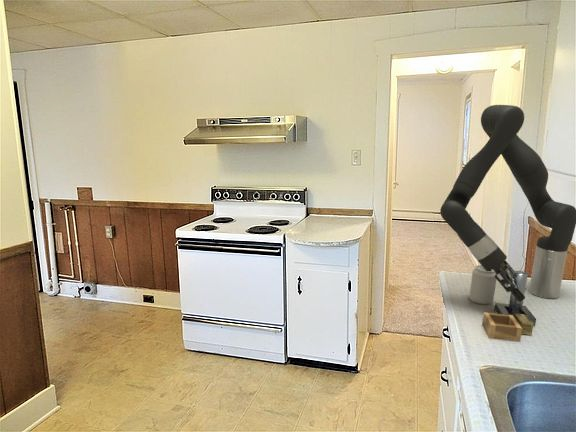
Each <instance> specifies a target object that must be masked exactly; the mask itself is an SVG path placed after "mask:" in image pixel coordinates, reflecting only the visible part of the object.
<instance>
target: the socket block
mask: <svg viewBox="0 0 576 432" xmlns="http://www.w3.org/2000/svg"><path fill="white" fill-rule="evenodd" d="M493 308H494V309H493V311H494V313H495V314H505V315H513V316H514V314H511V313H508V309H509V303H501V302H500V303H499V302H494V307H493ZM521 314H524V315H525V316H526V317H527V319H528V320H529V321H532V322H533V323H534V325H533V327H536V323H537V318H536V317H535V316H534V314H533V313H532V312H531V311H530V309H529V308H528V307H527V305H523V306H522V312H521Z"/></svg>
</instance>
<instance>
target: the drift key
mask: <svg viewBox="0 0 576 432" xmlns="http://www.w3.org/2000/svg"><path fill="white" fill-rule="evenodd" d="M514 318H515V319H516V321H517V322H518V323H519V325H520V326H521V327H522V333H521V335H530V336H532V335H533V329H534V326H533V325H534V323H533V322H532V321H529V320H528V319H527V317H526V316H525V315H524V314H517V313H515V314H514Z"/></svg>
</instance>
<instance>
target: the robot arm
mask: <svg viewBox="0 0 576 432" xmlns="http://www.w3.org/2000/svg"><path fill="white" fill-rule="evenodd" d="M524 122H525V113H524V111H523V109H522V108H521V107H520V106H517V105H512V104H510V105H509V104H493V105H489V106H487V107H486V108H484V110H483V111H482V113H481V116H480V125H481V128H482V130H483V131H484V132H485V134H486V135H487V136H488V138H489V139H488V140H487V142H486V143H485V144H484V146H483V147H482V148H481V149H480V150H479V151H478V152H477V153H476V154H474V156H473V157H472V158H470V159H469V160H468V161H467V162H466V163H465V165H464V166H463V168H462V170H461V171H460V173H459V174H458V177H457V178H456V179H455V182H454V184H453V185H452V189H451V191H449V194H448V195H447V197H446V199H445V200H444V201H443V203H442V204H441V206H440V211H439V212H440V213H439V214H440V216H441V218H442V219H443V220H444V222H446V223H447V225H448V226H449V227H450V228H451V229H452V230H453V231H454V232H455V233H456V235H457V236H458V238H459V239H460V240H461V243H463V244H464V245H465V246H466V248H467V249H468V250H469V252H470V254H471V255H472V256H473V257H474V258H475V259H476V261H477V263H479V264H480V265H482V267H483V268H484V269H485V270H486V271H490V270H494V271H495V273H496V274H495V278H496V279H497V280H496V281H497V282H498V283H499V284H500V286H501V287H503V289H504V290H505V291H506V293H510V294H511V293H512V294H513V295H514V297H515V298H516V299H517V300H518V301H522V300H523V301H525V299H526V296H525V294H524V295H523V294H522V292H521V291H520V290H519V289H518V288H517V286H516V285H515V283H514V272H515V271H516V270H514V268H513V267H512V266H511V264H510V263H508V261H507V259H508V257H507V255H506V253H505V252H504V251H503V250H502V249H501V248H500V247H499V245H498V244H497V243H496V242H495V241H494V239H492V238H491V237H490V236H489V235H488V234H487V233H486V232H485V231H484V229H483V228H482V227H481V226H480V225H479V224H478V223H477V222H476V221H475V220H474V219H473V217H472V216H471V215H470V213H468V211H467V207H468V205H469V203H470V201H471V199H473V197H474V196H475V194H476V193H477V191H478V190H479V188H480V186H481V184H482V183H483V181H484V179H485V177H486V176H487V174H488V173H489V171H490V170H491V168H492V166H493V165H494V163H496V161H497V160H498V159H499V158H500V156H502V159H503V160H504V162H505V163H506V165H507V166H508V168H509V170H510V172H511V174H512V176H513V177H514V179H515V181H516V182H517V184H518V185H519V187H520V188H521V191H522V192H523V194H524V195H525V197H526V199H527V201H528V203H529V206H530V207H531V210H532V212H533V214H534V217H535V219H536V221H537V222H538V223H539V225H541V226H543V227H545V228H548V229H549V228H550V229H551V231H550V234H549V235H548V236H541V237H538V239H537V240H536V245H535V251H534V258H533V265H532V268H531V269H532V270H531V275H530V282H529V289H528V292H529V293H531V294H532V295H534V296H536V297H540V298H544V299H552V300H553V299H558V298H559V296H560V291H561V287H562V283H563V282H562V280H563V277H564V276H563V275H564V272H565V271H564V270H565V266H566V261H567V255H568V250H569V246H570V245H571V243H572V241H573V237H574V233H575V229H576V207H575V206H574V205H571V204H568V203H564V202H563V203H562V202H560V201H555V200H554V199H553V198H552V197H551V196H550V193H549V192H548V191H547V185H548V181H549V171H548V168H547V167H546V165H545V163H544V161H543V160H542V158H541V156H540V155H539V154H538V153H537V152H536V151H535V150H534V149H533V148H532V147H531V146H529V144H527V143H526V142H525V141H524V140H523V139H522V138H521V137H519V135H518V133H519V132H520V130H521V129H522V127H523V124H524ZM526 290H527V287H526V288H525V291H526Z"/></svg>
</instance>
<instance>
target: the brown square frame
mask: <svg viewBox="0 0 576 432" xmlns="http://www.w3.org/2000/svg"><path fill="white" fill-rule="evenodd" d="M481 325H482V327H483V329H484V330H485V331H484V332H486V334H487V336H488V338H489V339H494V340H495V339H496V340H505V341H514V342H521V338H522V334H521V333H522V327H521V326H520V325H519V323H518V322H517V321H516V319H515V318H514V316H513V315H505V314H496V312H485V311H484V312H483V315H482V321H481Z"/></svg>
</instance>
